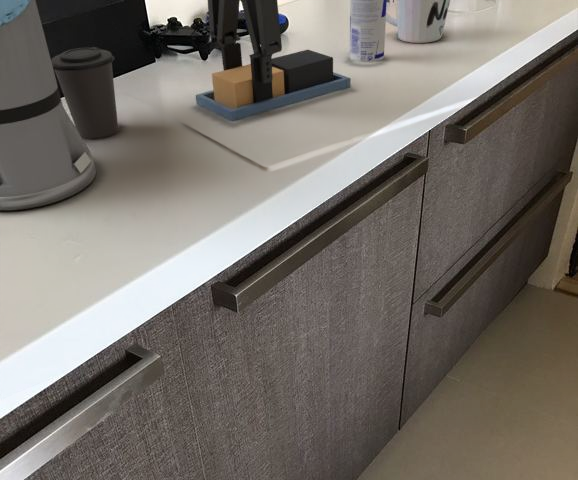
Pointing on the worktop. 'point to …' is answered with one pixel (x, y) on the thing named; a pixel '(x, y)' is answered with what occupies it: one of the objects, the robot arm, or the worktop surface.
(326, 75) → the charcoal pad
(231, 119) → the tray
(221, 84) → the tan block
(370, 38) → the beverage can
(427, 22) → the mug
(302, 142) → the worktop surface
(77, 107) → the coffee cup
